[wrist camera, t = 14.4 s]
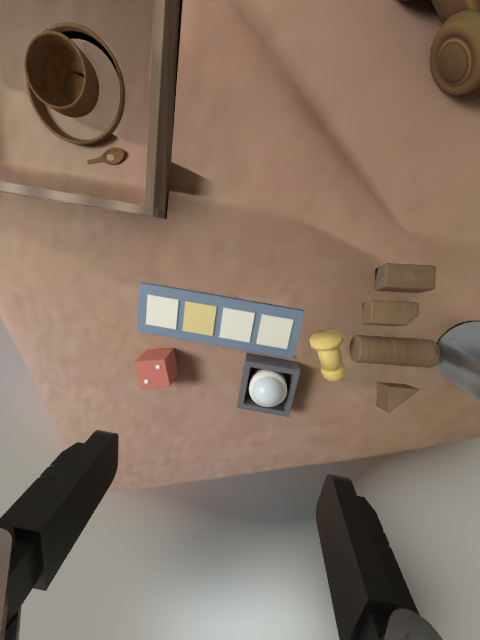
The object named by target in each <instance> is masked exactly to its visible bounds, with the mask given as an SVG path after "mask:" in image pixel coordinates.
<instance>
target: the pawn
mask: <svg viewBox="0 0 480 640" xmlns="http://www.w3.org/2000/svg"><path fill="white" fill-rule="evenodd" d="M342 343H343V338H342V334H341V333H340V332H339V331H337V330H323V331H320V332H317V333H315V334H314V335H312V336H311V337H310V345H311V347H312V348H313V349H314V350H317V351H318V355H319V359H320V363H321V372H322V375H323V376H324V378H326V379H327V380H329V381H333V382H335V381H339V380H341V379H342V378H343V377H344V375H345V366H344V364H343V363H342V358H341V354H340V349H339V346H340V345H341V344H342Z"/></svg>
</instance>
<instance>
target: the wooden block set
mask: <svg viewBox="0 0 480 640" xmlns="http://www.w3.org/2000/svg"><path fill="white" fill-rule="evenodd" d="M435 269H436V268H435V266H432V265H412V264H391V263H386V264H384V265H382V266H380V267H378V268H376V270H375V290H377V291H392V292H410V293H422V292H426V291H430V290H433V289H434V288H435ZM418 314H419V303H416V302H398V301H381V300H371V301H367V302H364V303H363V304H362V324H369V325H385V326H405V325H407V324H408V323H409V322H411V321H412V320H413V319H414V318H415V317H416V316H417V315H418ZM350 356H351V359H352V360H353V361H354V362H356V363H370V364H384V365H398V366H412V367H426V368H431V367H433V366H435V365H436V364H437V363H438V361H439V357H440V351H439V348H438V346H437V344H436V343H435V342H434V341H432V340H427V339H411V338H396V337H380V336H365V335H356V336H354V337H353V338H352V340H351V343H350ZM418 390H419V389H417V388H414V387H411V386H409V385H406V384H396V383H382V382H377V402H376V406H378V407H379V408H381V409H383V410H384V411H386V412H388V413H389V412H390V411H392V410H393V409H394V408H396V407H397V406H398V405H400V404H401V403H402V402H404V401H405V400H406V399H408V398H409V397H410V396H412V395H413V394H414V393H416V392H417V391H418Z"/></svg>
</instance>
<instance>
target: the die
mask: <svg viewBox="0 0 480 640" xmlns="http://www.w3.org/2000/svg"><path fill="white" fill-rule="evenodd" d="M135 364H136V369H137V373H138V377H139V381H140V385H141V388H160V387H170V386H171V384H172V383H173V381H174V379H175V378H176V376H177V374H178V367H177V362H176V357H175V351H174V348H163V349H148V350H146V351H145V352H144V353H143V354H142V355H141V356H140V357H139V358H138V359H137V360H136V361H135Z"/></svg>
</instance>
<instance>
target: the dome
mask: <svg viewBox="0 0 480 640" xmlns="http://www.w3.org/2000/svg"><path fill="white" fill-rule="evenodd" d="M249 394H250V396H251V398H252V400H253V401H254V402H255V403H257V404H258V405H261V406H264V407H273V406H276V405H278V404H280V403H281V402H282V401H283V400H284V399H285V397H286V395H287V386H286V380H285V377H284V375H283V373H282V372H276V371H270V370H265V369H259V368H258V369H256V370H255V371H254V372H253V373H252V375H251V377H250V384H249Z"/></svg>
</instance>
